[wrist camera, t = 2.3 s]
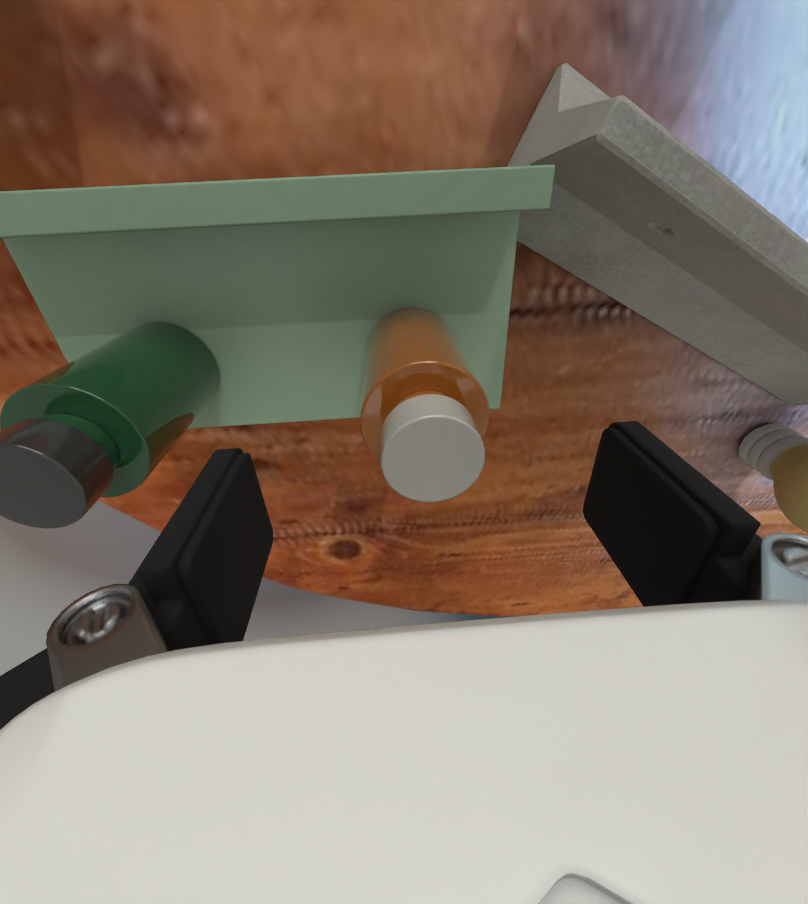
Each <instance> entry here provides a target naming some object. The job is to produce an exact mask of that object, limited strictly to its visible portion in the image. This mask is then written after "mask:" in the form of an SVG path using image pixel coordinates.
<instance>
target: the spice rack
mask: <svg viewBox="0 0 808 904" xmlns="http://www.w3.org/2000/svg"><path fill="white" fill-rule="evenodd" d="M554 174H555V165H533V166H512V167H492V168H472V169H451V170H431V171H410V172H390V173H369V174H349V175H328V176H308V177H288V178H267V179H247V180H226V181H206V182H185V183H165V184H144V185H124V186H103V187H83V188H63V189H42V190H22V191H1V192H0V238H2V239H3V241H4V243H5V245H6V247H7V249H8V251H9V252H10V254H11V256H12V258H13V260H14V262H15V264H16V266H17V268H18V270H19V271H20V273H21V275H22V277H23V279H24V281H25V283H26V285H27V287H28V288H29V290H30V292H31V294H32V296H33V298H34V300H35V302H36V304H37V306H38V307H39V309H40V311H41V313H42V315H43V317H44V319H45V321H46V323H47V325H48V326H49V328H50V330H51V332H52V334H53V336H54V338H55V340H56V342H57V343H58V345H59V347H60V349H61V351H62V353H63V355H64V357H65V359H66V361H67V362H68V363H70V362H72V361H74V360H75V359H77V358H79V357H81V356H83V355H85V354H87V353H88V352H90V351H92V350H94V349H96V348H98V347H100V346H101V345H103V344H105V343H107V342H109V341H111V340H113V339H115V338H116V337H118V336H120V335H122V334H124V333H126V332H128V331H129V330H131V329H133V328H135V327H137V326H139V325H141V324H144V323H148V322H166V323H171V324H175V325H177V326H180V327H182V328H184V329H186V330H188V331H190V332H191V333H193V334H194V335H196V336H197V337H198V338H200V339H201V340H202V341H203V342H204V343H205V344H206V346H207V347H208V348H209V349H210V351H211V352H212V354H213V355H214V357H215V359H216V362H217V364H218V368H219V373H220V383H219V387H218V390H217V392H216V394H215V396H214V397H213V398H212V399H211V401H210V402H209V403H208V404H207V405H206V407H205V408H204V409H203V410H202V411H201V413H200V414H199V415H198V416H197V418H196V419H195V420H194V421H193V422H192V424H191V425H190V426H189V427H188V428H203V427H219V426H235V425H251V424H266V423H282V422H298V421H314V420H330V419H346V418H360V412H361V400H362V388H363V376H364V364H365V351H366V344H367V340H368V337H369V335H370V333H371V331H372V329H373V328H374V326H375V325H376V324H377V323H378V322H379V321H380V320H381V319H382V318H383V317H384V316H386V315H387V314H389V313H391V312H393V311H396V310H399V309H402V308H422V309H425V310H428V311H431V312H433V313H434V314H436V315H438V316H439V317H440V318H441V319H443V320H444V322H445V323H446V324H447V325H448V327H449V328H450V330H451V331H452V333H453V335H454V337H455V339H456V341H457V342H458V344H459V346H460V348H461V350H462V352H463V353H464V355H465V357H466V359H467V361H468V363H469V364H470V366H471V368H472V370H473V372H474V374H475V375H476V377H477V379H478V381H479V383H480V385H481V387H482V388H483V390H484V392H485V395H486V397H487V400H488V404H489V409H500V403H501V393H502V383H503V373H504V363H505V353H506V343H507V333H508V323H509V314H510V304H511V294H512V284H513V274H514V264H515V254H516V244H517V234H518V224H519V214H520V211H538V210H548V209H549V208H550V203H551V196H552V188H553V181H554Z"/></svg>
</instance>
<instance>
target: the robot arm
mask: <svg viewBox="0 0 808 904" xmlns="http://www.w3.org/2000/svg"><path fill="white" fill-rule="evenodd" d="M583 513H584V517H585V519H586V521H587V522H588V524H589V525H590V527H591V528H592V530H593V531H594V533H595V534H596V536H597V537H598V539H599V540H600V542H601V543H602V545H603V546H604V548H605V549H606V551H607V552H608V554H609V555H610V557H611V558H612V560H613V561H614V563H615V564H616V566H617V567H618V569H619V570H620V572H621V573H622V575H623V576H624V578H625V579H626V581H627V582H628V584H629V585H630V587H631V588H632V590H633V591H634V593H635V594H636V596H637V597H638V599H639V600H640V602H641V603H642V605H643V606H644V607H634V608H621V609H607V610H594V611H581V612H568V613H555V614H543V615H531V616H518V617H506V618H495V619H482V620H469V621H458V622H445V623H434V624H421V625H411V626H398V627H387V628H375V629H364V630H353V631H342V632H330V633H318V634H307V635H296V636H287V637H276V638H267V639H258V640H248V641H243V639H244V636H245V632H246V629H247V626H248V622H249V619H250V616H251V612H252V609H253V606H254V603H255V599H256V596H257V593H258V589H259V586H260V582H261V580H262V576H263V573H264V570H265V566H266V563H267V560H268V557H269V553H270V550H271V547H272V543H273V529H272V526H271V522H270V519H269V516H268V512H267V509H266V506H265V502H264V499H263V495H262V492H261V489H260V485H259V482H258V479H257V475H256V472H255V469H254V465H253V462H252V459H251V456H250V454H248V453H243V451H242V450H241V449H240V448H233V449H219V450H216V451H215V452H214V453H213V455H212V456H211V458H210V459H209V461H208V462H207V464H206V465H205V467H204V468H203V470H202V471H201V473H200V475H199V476H198V478H197V479H196V481H195V482H194V484H193V485H192V487H191V488H190V490H189V491H188V493H187V494H186V496H185V498H184V499H183V501H182V502H181V504H180V505H179V507H178V508H177V510H176V511H175V513H174V514H173V516H172V517H171V519H170V521H169V522H168V524H167V525H166V527H165V528H164V530H163V531H162V533H161V535H160V536H159V537H158V539H157V540H156V542H155V544H154V545H153V547H152V548H151V550H150V551H149V553H148V554H147V556H146V557H145V559H144V560H143V562H142V564H141V565H140V567H139V568H138V570H137V572H136V573H135V575H134V576H133V578H132V579H131V581H130V582H129V584H113V585H109V586H104V587H101V588H98V589H96V590H94V591H91V592H89V593H87V594H85V595H84V596H82V597H80V598H79V599H77V600H75V601H74V602H73V603H71V604H70V605H69V606H68V607H67V608H65V609H64V610H63V611H62V612H61V613H60V614H59V615H58V617H57V618H56V619H55V620H54V621H53V623H52V624H51V627H50V628H49V630H48V632H47V639H46V645H47V648H46V649H45V650H43V651H41V652H40V653H38V654H36V655H35V656H33V657H31V658H30V659H28V660H26V661H25V662H23V663H21V664H20V665H18V666H16V667H15V668H13V669H11V670H10V671H8V672H6V673H5V674H3V675H1V676H0V904H808V537H805V536H801V535H796V534H791V533H774V534H769V535H768V536H766V537H764V538H763V540H762V539H761V538H760V537H759V536H758V535H757V534H755V533H756V531H757V529H758V528H759V526H760V524H761V523H760V522H759V521H757V520H756V519H755V518H754V517H752V516H751V515H750V514H749V513H748V512H746V511H745V510H744V509H743V508H742V507H740V506H739V505H738V504H737V503H736V502H734V501H733V500H732V499H731V498H729V497H728V496H727V495H726V494H725V493H723V492H722V491H721V490H720V489H719V488H717V487H716V486H715V485H714V484H713V483H711V482H710V481H709V480H708V479H706V478H705V477H704V476H703V475H702V474H700V473H699V472H698V471H697V470H696V469H694V468H693V467H692V466H691V465H690V464H688V463H687V462H686V461H685V460H683V459H682V458H681V457H680V456H679V455H677V454H676V453H675V452H674V451H673V450H671V449H670V448H669V447H668V446H667V445H665V444H664V443H663V442H662V441H660V440H659V439H658V438H657V437H656V436H654V435H653V434H652V433H651V432H650V431H648V430H647V429H646V428H645V427H644V426H642V425H641V424H640V423H638V422H637V421H630V422H616V423H612V424H611V425H610V426H609V428H606V429H605V430H604V431H603V433H602V436H601V440H600V444H599V448H598V451H597V455H596V459H595V463H594V467H593V471H592V475H591V478H590V482H589V486H588V490H587V494H586V498H585V502H584V506H583Z"/></svg>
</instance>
